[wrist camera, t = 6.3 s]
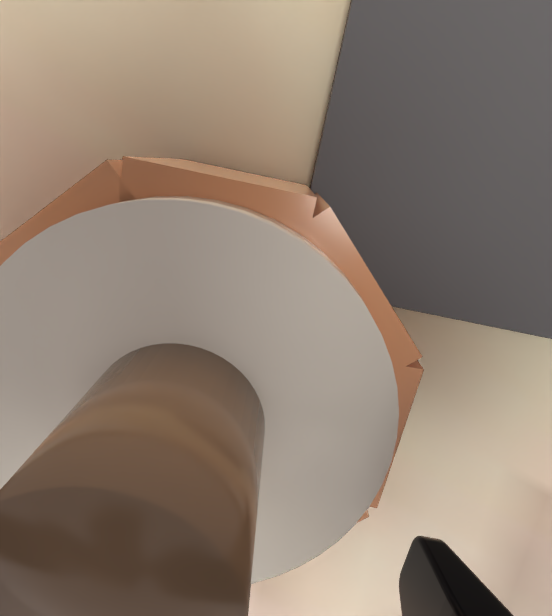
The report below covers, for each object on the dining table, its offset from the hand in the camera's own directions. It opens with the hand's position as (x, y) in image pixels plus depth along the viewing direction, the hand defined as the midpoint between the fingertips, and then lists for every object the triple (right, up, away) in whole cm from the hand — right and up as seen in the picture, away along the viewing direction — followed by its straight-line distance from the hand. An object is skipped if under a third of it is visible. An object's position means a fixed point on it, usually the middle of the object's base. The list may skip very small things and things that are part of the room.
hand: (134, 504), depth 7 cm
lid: (0, +1, +3) cm, 3 cm away
